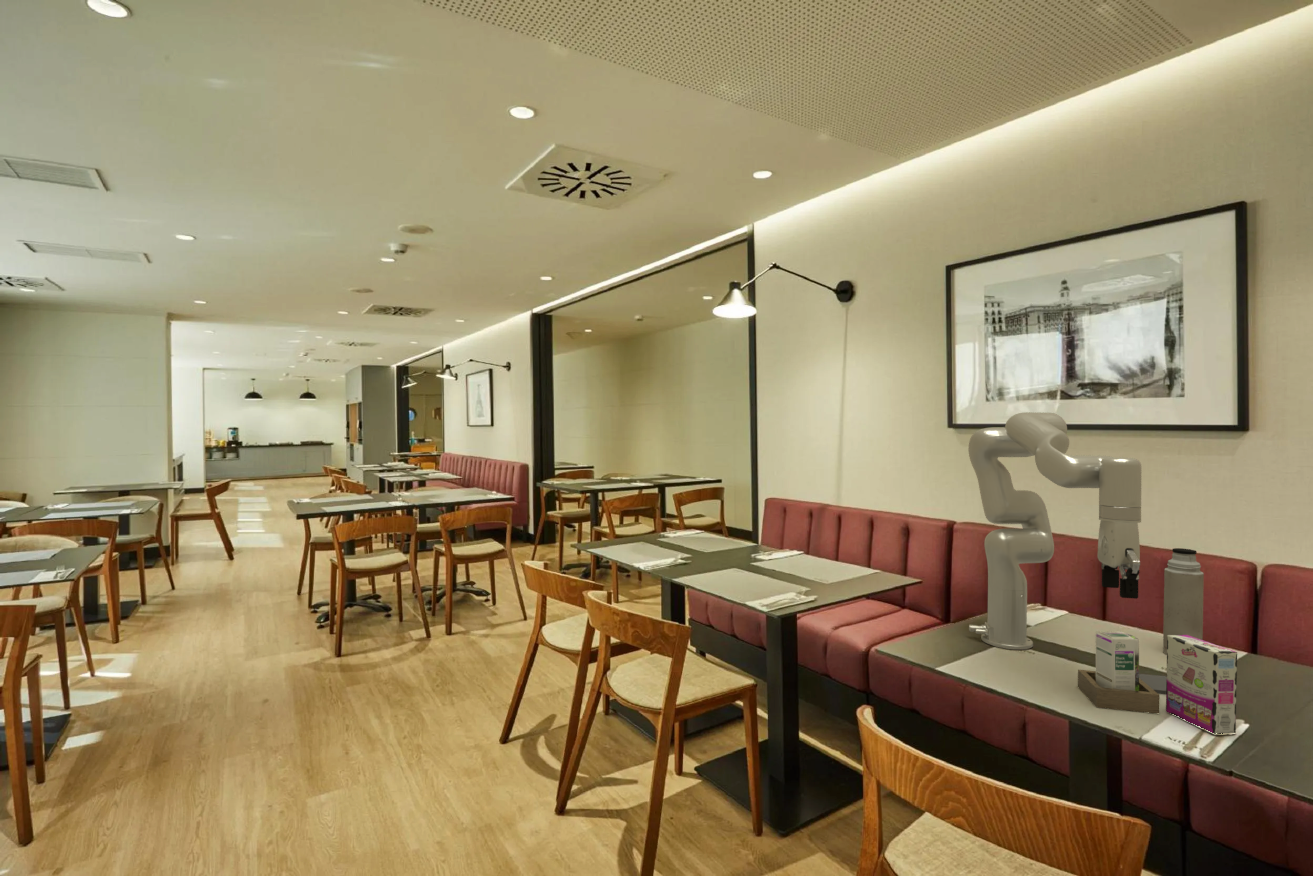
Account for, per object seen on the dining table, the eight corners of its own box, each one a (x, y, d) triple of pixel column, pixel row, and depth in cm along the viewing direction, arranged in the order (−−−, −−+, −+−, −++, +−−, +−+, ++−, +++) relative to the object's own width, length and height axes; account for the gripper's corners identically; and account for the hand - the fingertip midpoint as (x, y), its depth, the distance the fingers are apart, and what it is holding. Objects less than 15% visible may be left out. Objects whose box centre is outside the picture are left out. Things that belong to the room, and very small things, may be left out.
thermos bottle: (1157, 648, 175) (1159, 545, 175) (1193, 652, 172) (1195, 547, 172) (1170, 658, 167) (1172, 550, 167) (1208, 662, 165) (1210, 553, 164)
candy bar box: (1238, 735, 126) (1239, 651, 125) (1214, 736, 125) (1215, 652, 125) (1186, 710, 137) (1187, 633, 137) (1164, 711, 136) (1165, 634, 136)
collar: (1096, 707, 138) (1096, 688, 138) (1077, 686, 149) (1078, 669, 149) (1159, 714, 135) (1159, 695, 135) (1135, 692, 146) (1135, 675, 146)
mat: (1143, 692, 146) (1143, 688, 146) (1124, 675, 156) (1124, 672, 156) (1195, 697, 144) (1195, 693, 143) (1173, 680, 153) (1173, 677, 153)
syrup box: (1113, 705, 139) (1114, 638, 139) (1094, 694, 145) (1095, 630, 145) (1139, 705, 139) (1140, 638, 139) (1119, 694, 145) (1120, 629, 145)
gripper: (1085, 509, 151) (1085, 582, 151) (1115, 518, 134) (1115, 601, 134) (1123, 510, 149) (1122, 584, 149) (1158, 519, 132) (1158, 603, 132)
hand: (1119, 592), depth 141 cm, fingers open, 9 cm apart
